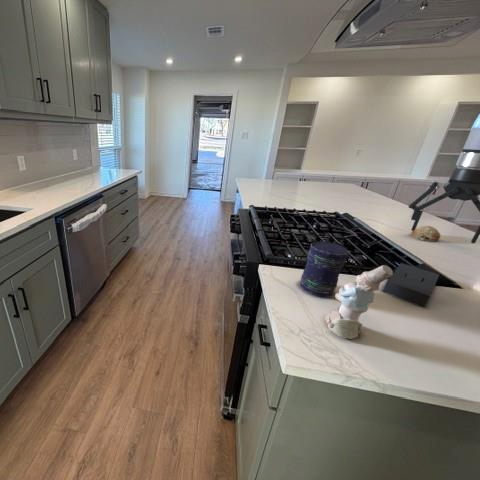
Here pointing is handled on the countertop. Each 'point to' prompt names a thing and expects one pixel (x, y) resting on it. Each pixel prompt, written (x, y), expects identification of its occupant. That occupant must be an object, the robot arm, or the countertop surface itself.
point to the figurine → (356, 302)
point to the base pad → (409, 288)
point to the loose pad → (417, 273)
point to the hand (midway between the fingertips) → (441, 235)
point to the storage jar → (323, 268)
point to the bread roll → (426, 233)
